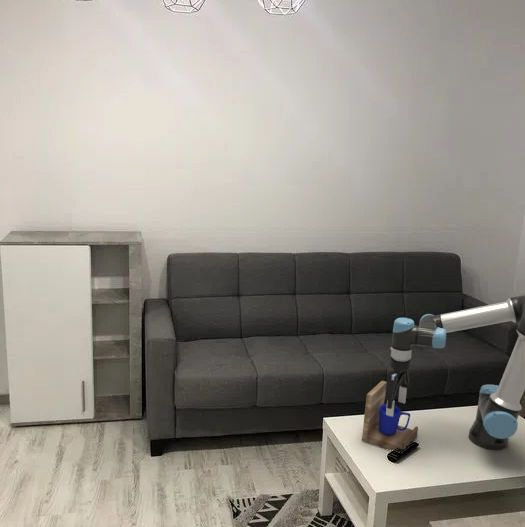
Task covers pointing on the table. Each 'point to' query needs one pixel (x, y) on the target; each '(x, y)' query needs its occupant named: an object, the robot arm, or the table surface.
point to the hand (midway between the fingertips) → (395, 408)
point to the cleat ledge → (392, 438)
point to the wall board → (373, 408)
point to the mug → (390, 420)
